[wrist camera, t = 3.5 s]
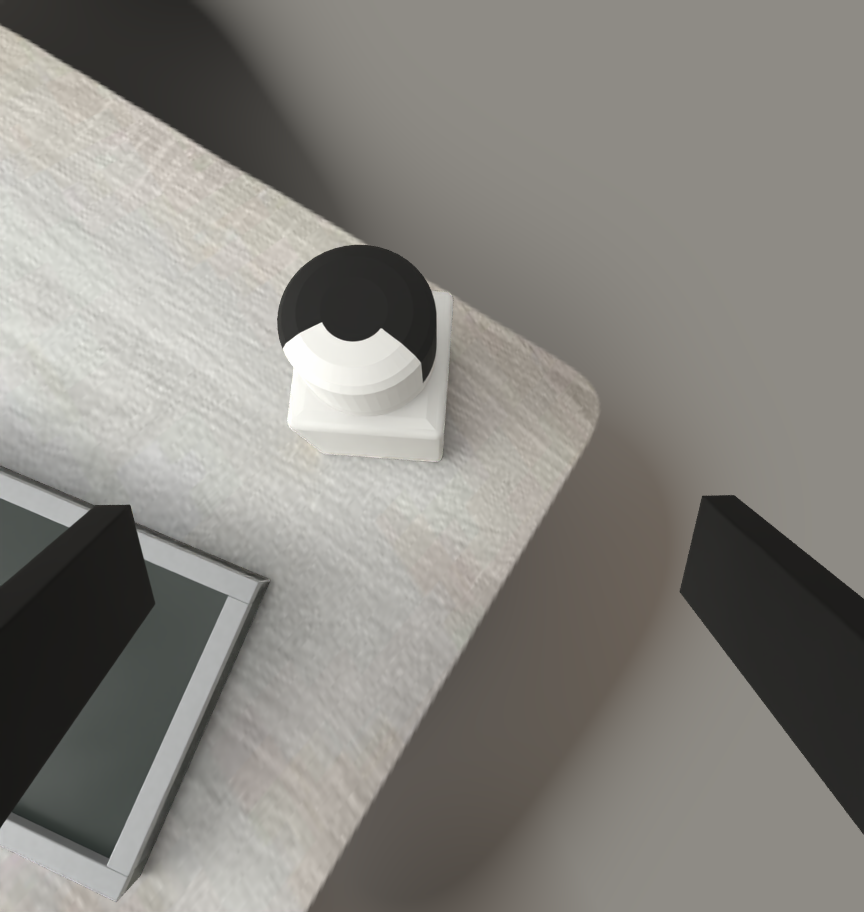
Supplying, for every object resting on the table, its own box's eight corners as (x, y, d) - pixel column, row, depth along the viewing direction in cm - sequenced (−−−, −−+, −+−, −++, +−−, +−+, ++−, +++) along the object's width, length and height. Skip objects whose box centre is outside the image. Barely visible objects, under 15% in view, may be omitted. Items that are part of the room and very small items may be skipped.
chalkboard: (270, 579, 29) (258, 582, 27) (140, 876, 26) (116, 903, 24) (-67, 437, 30) (-102, 430, 28) (-220, 705, 28) (-269, 717, 26)
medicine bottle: (332, 338, 31) (269, 214, 19) (450, 346, 31) (458, 225, 19) (319, 454, 30) (243, 397, 18) (442, 463, 30) (445, 411, 18)
